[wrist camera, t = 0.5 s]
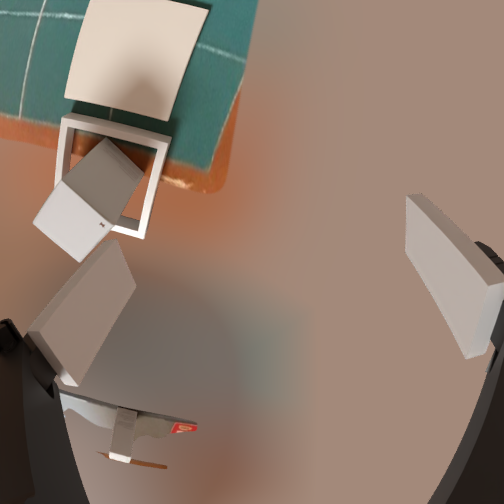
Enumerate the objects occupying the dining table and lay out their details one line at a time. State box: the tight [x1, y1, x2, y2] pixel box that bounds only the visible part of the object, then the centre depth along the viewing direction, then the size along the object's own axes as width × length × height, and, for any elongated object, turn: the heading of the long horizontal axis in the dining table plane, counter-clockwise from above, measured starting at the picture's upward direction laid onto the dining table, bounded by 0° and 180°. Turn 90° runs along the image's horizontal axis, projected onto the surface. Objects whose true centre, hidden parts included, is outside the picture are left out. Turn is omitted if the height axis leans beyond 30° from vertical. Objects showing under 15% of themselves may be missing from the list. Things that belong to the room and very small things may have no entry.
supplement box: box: [33, 138, 144, 262], centre depth 33 cm, size 7×7×13 cm
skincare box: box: [109, 407, 137, 463], centre depth 76 cm, size 8×7×16 cm
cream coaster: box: [64, 0, 209, 121], centre depth 28 cm, size 14×14×1 cm
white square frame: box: [54, 112, 172, 239], centre depth 37 cm, size 14×14×2 cm
